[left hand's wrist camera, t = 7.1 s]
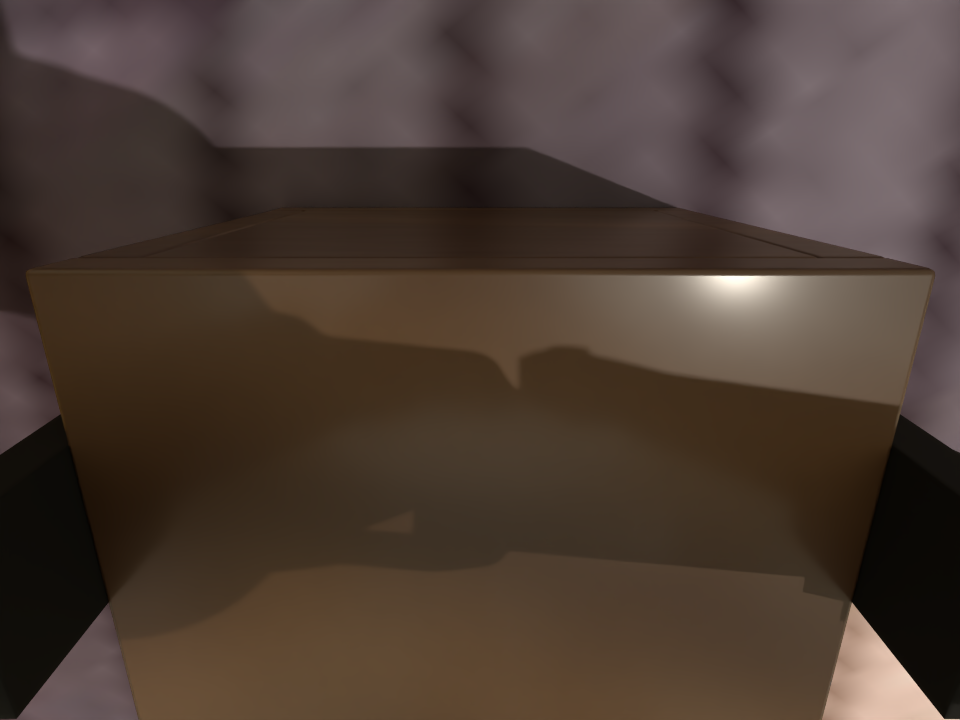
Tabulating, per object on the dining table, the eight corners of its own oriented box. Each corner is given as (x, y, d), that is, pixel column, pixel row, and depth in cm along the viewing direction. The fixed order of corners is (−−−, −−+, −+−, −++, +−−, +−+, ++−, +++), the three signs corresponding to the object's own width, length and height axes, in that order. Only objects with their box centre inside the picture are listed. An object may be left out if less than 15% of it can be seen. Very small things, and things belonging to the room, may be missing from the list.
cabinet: (621, 736, 24) (718, 1129, 14) (338, 736, 24) (241, 1129, 14) (678, 207, 17) (940, 268, 7) (281, 207, 17) (20, 268, 7)
